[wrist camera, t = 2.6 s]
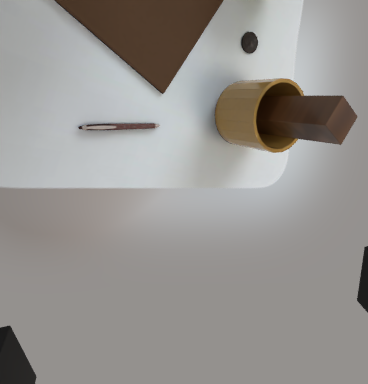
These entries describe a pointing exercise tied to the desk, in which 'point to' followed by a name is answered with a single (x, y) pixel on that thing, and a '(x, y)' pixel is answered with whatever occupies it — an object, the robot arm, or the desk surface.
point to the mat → (147, 31)
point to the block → (306, 117)
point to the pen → (118, 126)
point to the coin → (249, 42)
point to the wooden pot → (251, 113)
